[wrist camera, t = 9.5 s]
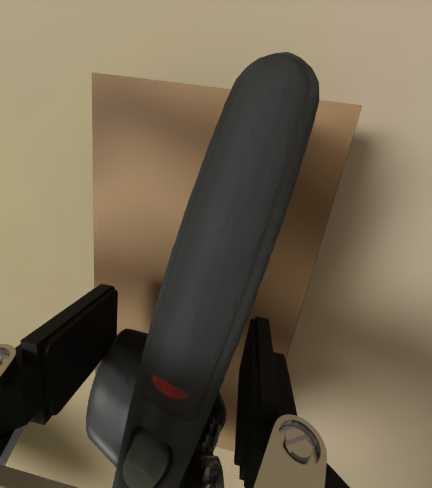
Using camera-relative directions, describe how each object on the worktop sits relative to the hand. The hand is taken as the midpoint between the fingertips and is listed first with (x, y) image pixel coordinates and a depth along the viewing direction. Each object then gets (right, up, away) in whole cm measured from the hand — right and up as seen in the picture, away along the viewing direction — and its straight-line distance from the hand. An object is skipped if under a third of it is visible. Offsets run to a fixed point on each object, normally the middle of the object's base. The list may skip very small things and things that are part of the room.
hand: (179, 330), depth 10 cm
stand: (+1, +2, +5) cm, 5 cm away
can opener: (+1, +1, +1) cm, 2 cm away
